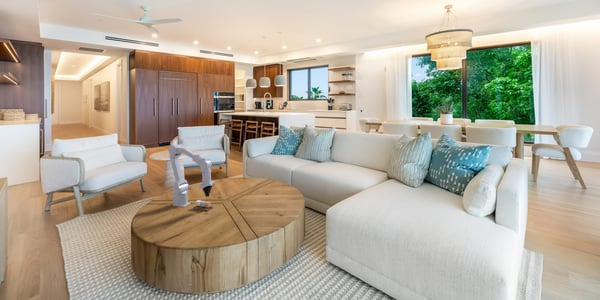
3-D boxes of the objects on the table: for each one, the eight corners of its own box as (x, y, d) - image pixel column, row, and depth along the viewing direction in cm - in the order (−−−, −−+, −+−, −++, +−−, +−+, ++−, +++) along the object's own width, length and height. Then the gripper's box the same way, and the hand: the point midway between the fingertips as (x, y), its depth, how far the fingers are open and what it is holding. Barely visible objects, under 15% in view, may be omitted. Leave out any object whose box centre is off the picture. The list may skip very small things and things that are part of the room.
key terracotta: (204, 206, 205) (204, 202, 204) (207, 205, 207) (207, 201, 207) (208, 207, 204) (208, 203, 203) (210, 205, 207) (210, 201, 206)
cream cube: (195, 205, 207) (195, 201, 206) (198, 204, 210) (198, 200, 209) (199, 206, 206) (199, 201, 206) (201, 204, 209) (201, 200, 208)
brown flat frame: (193, 209, 206) (193, 207, 206) (199, 205, 212) (199, 204, 212) (207, 211, 202) (207, 209, 202) (213, 207, 209) (213, 206, 208)
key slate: (200, 206, 206) (200, 202, 205) (202, 204, 209) (202, 200, 208) (203, 206, 205) (203, 202, 205) (206, 205, 208) (206, 201, 207)
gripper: (205, 180, 194) (205, 200, 196) (217, 175, 207) (218, 193, 210) (196, 179, 196) (197, 199, 198) (209, 174, 210) (209, 192, 212)
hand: (207, 196), depth 204 cm, fingers closed
